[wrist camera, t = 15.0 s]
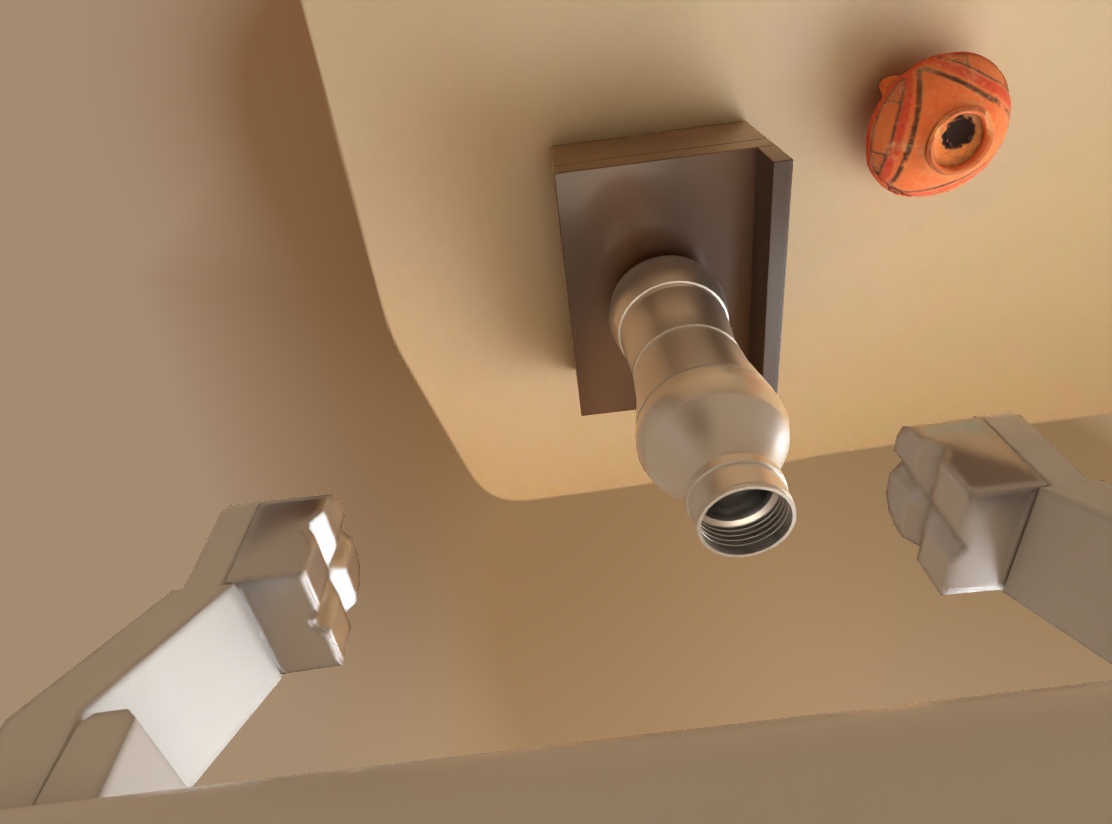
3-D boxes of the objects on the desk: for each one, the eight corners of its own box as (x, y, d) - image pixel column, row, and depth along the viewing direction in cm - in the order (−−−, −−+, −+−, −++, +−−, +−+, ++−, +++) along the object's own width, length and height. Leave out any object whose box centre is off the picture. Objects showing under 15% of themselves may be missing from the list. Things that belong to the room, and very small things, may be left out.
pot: (969, 5, 40) (1047, 48, 36) (967, 128, 46) (1034, 179, 41) (830, 72, 42) (888, 122, 37) (844, 183, 47) (896, 238, 42)
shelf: (575, 370, 53) (584, 442, 45) (549, 146, 44) (555, 189, 36) (739, 350, 52) (775, 420, 45) (746, 120, 43) (793, 159, 36)
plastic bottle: (716, 335, 45) (831, 573, 28) (608, 349, 45) (659, 593, 28) (716, 236, 41) (849, 441, 24) (598, 251, 41) (651, 465, 25)
